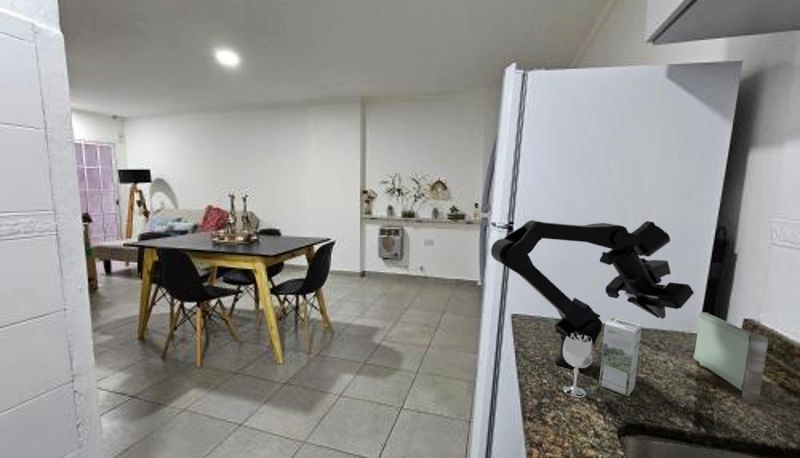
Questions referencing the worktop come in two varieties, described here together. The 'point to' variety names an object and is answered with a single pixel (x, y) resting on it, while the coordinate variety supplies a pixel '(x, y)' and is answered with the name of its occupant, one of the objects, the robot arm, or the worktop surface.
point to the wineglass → (577, 359)
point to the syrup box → (620, 356)
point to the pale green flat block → (723, 348)
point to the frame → (753, 369)
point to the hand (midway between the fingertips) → (661, 317)
